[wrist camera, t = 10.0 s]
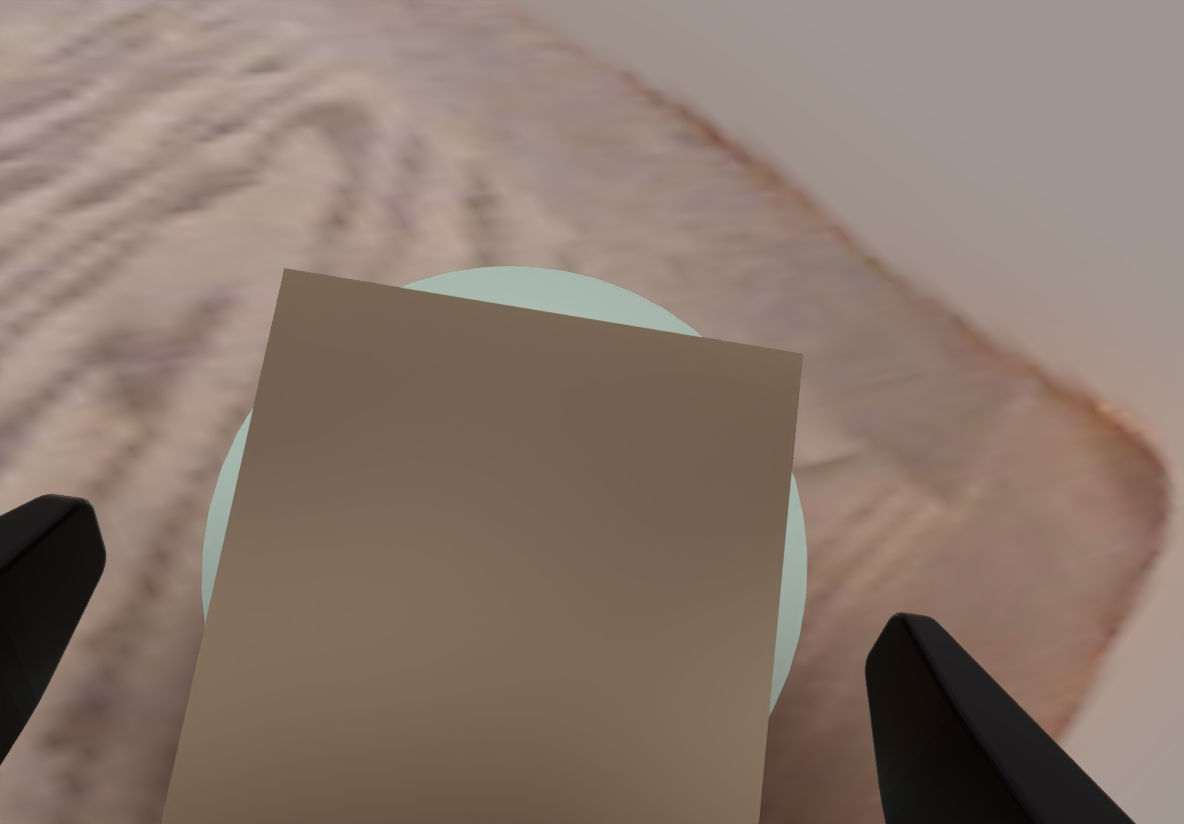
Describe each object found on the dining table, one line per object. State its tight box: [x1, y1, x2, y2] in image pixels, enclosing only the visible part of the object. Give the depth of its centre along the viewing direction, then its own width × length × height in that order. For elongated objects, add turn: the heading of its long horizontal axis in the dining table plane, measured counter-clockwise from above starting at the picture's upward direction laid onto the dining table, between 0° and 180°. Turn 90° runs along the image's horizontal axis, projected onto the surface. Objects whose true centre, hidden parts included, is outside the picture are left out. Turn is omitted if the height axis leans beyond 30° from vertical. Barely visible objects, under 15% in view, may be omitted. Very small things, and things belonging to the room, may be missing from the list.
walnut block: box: [161, 268, 803, 824], centre depth 12 cm, size 5×5×11 cm
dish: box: [201, 266, 807, 716], centre depth 18 cm, size 14×14×1 cm
